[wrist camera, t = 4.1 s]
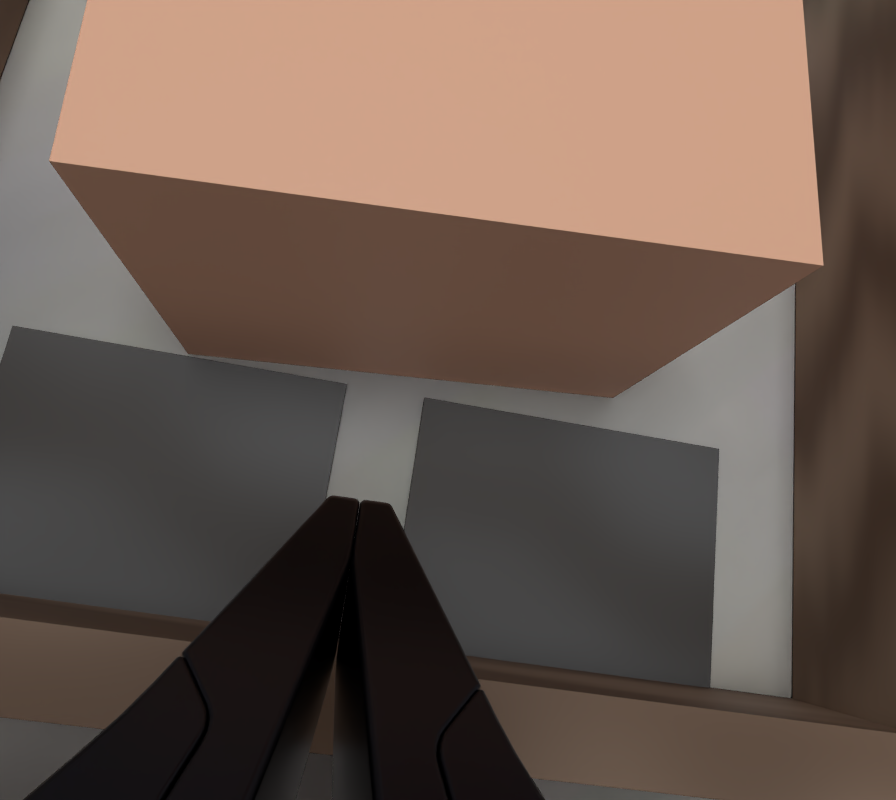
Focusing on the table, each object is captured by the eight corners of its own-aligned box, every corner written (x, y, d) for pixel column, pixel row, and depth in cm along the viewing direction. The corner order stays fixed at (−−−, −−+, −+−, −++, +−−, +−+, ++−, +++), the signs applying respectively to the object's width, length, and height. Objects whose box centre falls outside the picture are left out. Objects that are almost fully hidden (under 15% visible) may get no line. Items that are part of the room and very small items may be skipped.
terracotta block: (610, 399, 18) (823, 265, 10) (189, 355, 17) (49, 161, 9) (612, -22, 22) (773, -372, 14) (263, -87, 20) (211, -519, 12)
